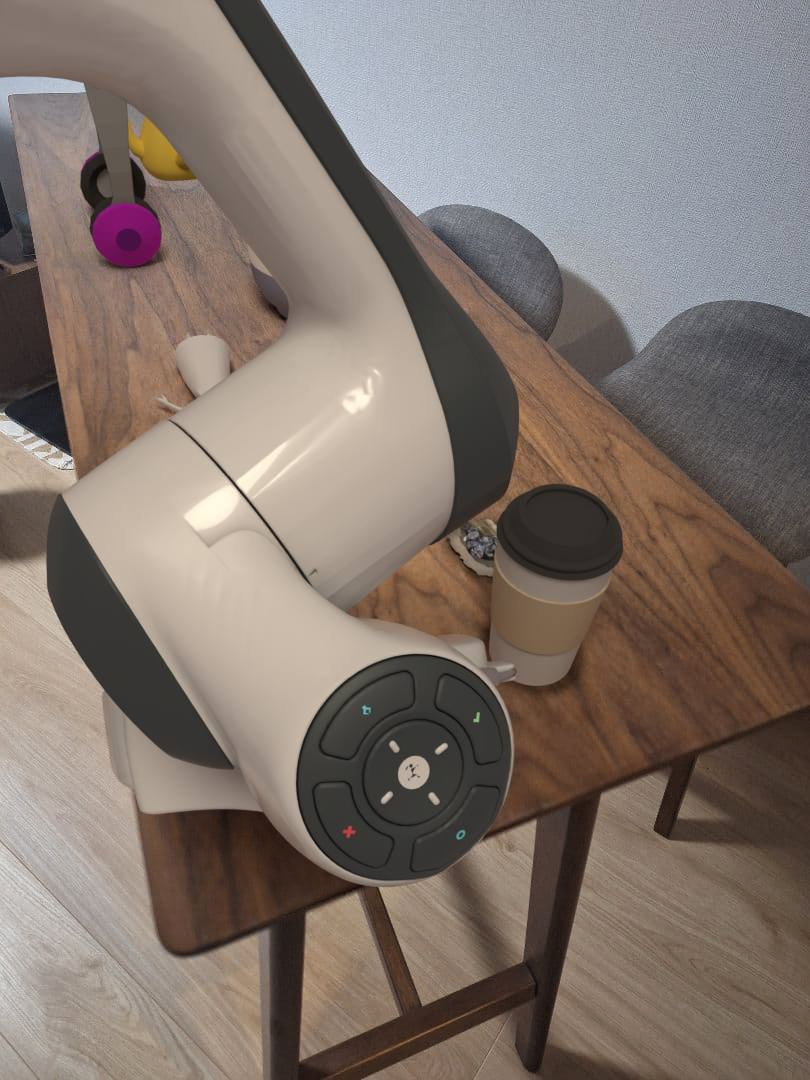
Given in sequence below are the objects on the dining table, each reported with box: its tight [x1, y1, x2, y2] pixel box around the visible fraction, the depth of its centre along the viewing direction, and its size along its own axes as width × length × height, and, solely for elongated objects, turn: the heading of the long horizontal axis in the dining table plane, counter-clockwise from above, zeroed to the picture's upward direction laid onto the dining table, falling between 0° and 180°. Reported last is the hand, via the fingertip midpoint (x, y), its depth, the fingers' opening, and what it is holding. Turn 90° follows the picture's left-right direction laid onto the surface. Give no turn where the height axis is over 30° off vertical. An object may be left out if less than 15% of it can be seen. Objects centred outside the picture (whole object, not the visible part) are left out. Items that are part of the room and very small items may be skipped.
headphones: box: [79, 83, 163, 268], centre depth 117 cm, size 21×9×20 cm, turn 19°
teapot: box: [128, 116, 198, 182], centre depth 140 cm, size 14×13×10 cm
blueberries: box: [445, 518, 498, 577], centre depth 81 cm, size 7×8×2 cm
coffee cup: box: [488, 483, 624, 687], centre depth 68 cm, size 9×9×15 cm
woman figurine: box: [154, 330, 232, 412], centre depth 95 cm, size 12×4×18 cm
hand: (284, 683), depth 55 cm, fingers closed on cosmetic box, 7 cm apart
